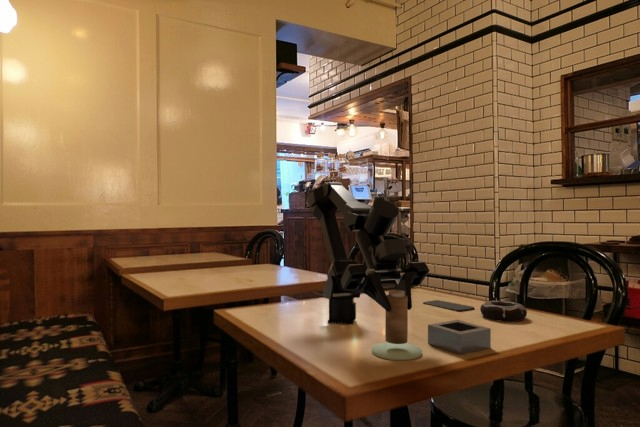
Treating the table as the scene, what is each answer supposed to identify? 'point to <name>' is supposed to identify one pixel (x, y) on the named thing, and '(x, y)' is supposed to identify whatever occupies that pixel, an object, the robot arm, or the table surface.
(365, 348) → the table surface
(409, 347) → the coaster
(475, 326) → the box
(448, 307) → the smartphone
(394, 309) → the pepper mill
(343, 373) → the table surface
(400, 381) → the table surface
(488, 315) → the donut
